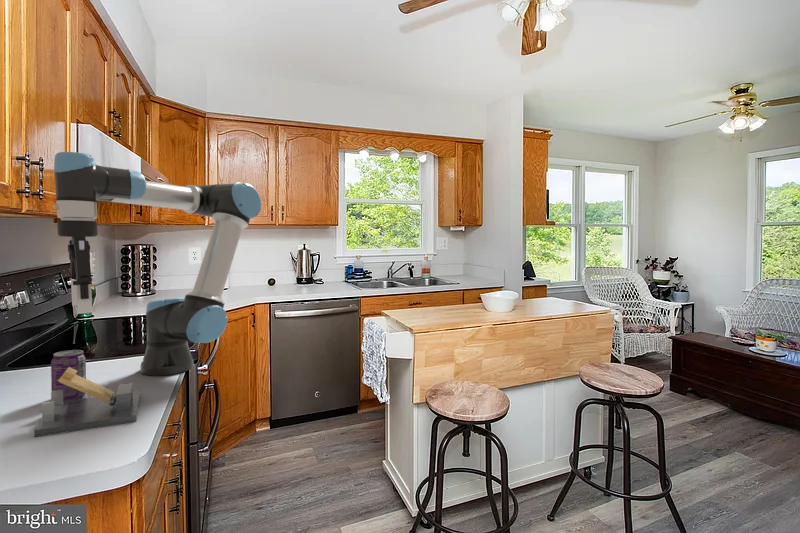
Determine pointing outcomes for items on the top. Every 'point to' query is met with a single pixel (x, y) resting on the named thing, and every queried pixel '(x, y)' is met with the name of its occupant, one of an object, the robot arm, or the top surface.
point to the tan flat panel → (87, 386)
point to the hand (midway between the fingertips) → (81, 309)
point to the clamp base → (87, 412)
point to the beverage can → (61, 364)
